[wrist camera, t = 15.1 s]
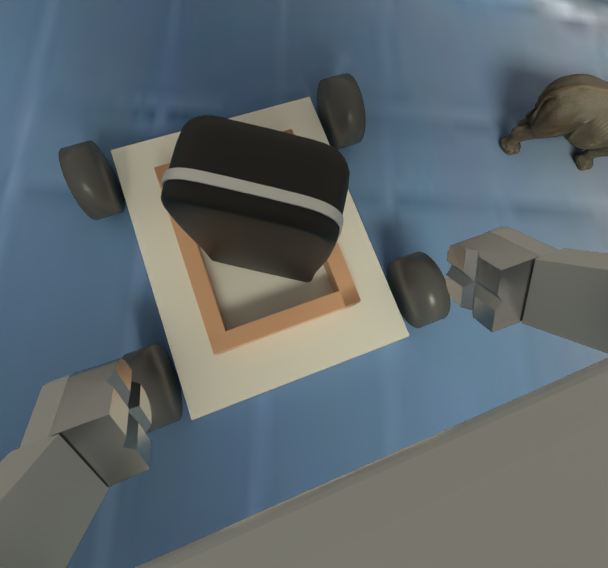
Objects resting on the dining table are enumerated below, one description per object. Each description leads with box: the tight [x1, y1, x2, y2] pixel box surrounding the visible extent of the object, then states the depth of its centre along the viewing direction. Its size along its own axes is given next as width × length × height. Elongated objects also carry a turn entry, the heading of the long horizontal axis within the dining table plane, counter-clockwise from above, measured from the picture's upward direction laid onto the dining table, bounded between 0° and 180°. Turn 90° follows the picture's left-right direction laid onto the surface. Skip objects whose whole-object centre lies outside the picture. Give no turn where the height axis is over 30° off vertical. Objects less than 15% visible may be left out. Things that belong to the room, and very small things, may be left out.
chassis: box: [59, 73, 450, 432], centre depth 23 cm, size 18×18×4 cm
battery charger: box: [161, 116, 349, 282], centre depth 18 cm, size 7×4×11 cm, turn 78°
